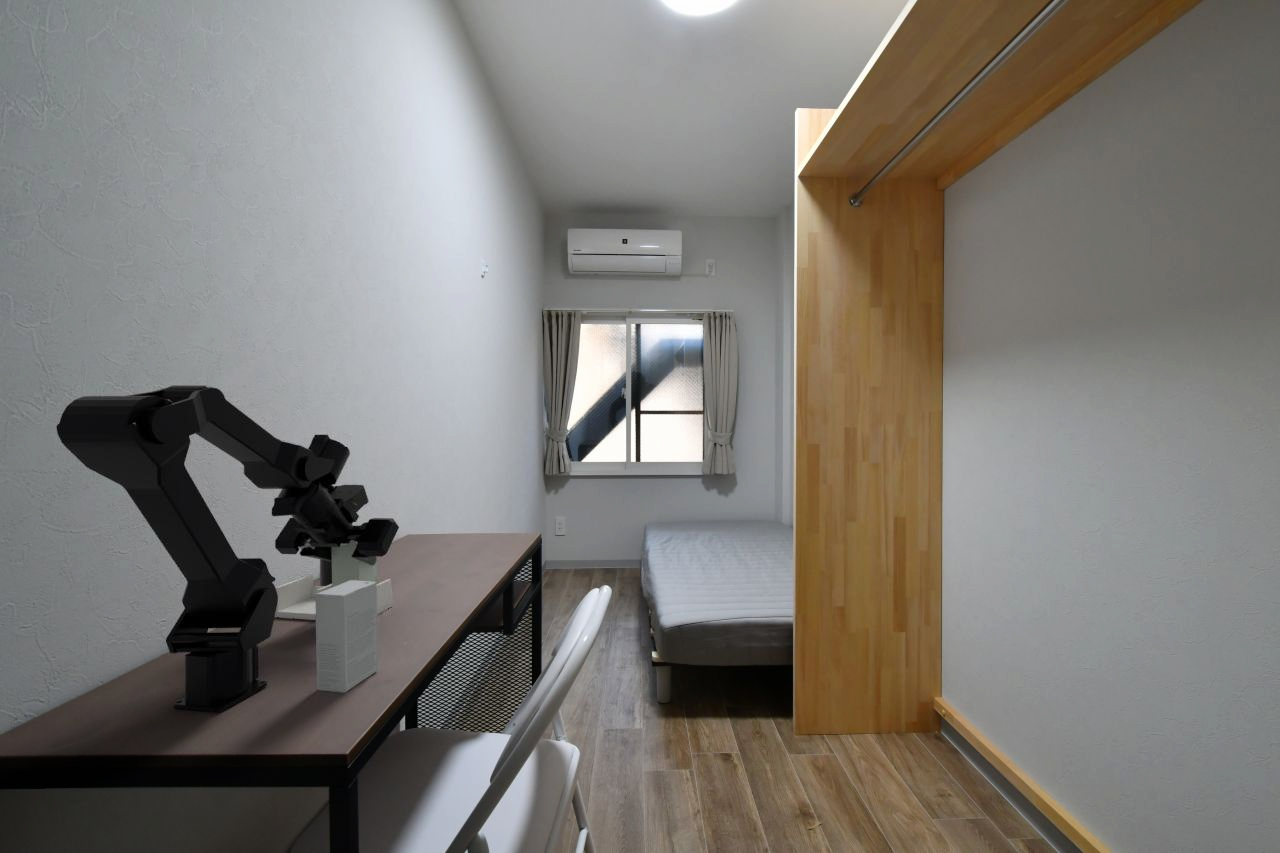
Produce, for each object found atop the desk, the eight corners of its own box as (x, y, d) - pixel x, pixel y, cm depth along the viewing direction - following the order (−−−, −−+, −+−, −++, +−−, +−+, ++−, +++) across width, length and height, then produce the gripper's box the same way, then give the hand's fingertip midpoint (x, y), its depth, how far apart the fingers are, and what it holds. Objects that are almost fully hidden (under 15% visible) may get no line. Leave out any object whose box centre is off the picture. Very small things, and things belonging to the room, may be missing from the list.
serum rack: (361, 622, 86) (361, 592, 86) (274, 617, 89) (274, 587, 89) (392, 606, 94) (392, 578, 94) (310, 601, 97) (310, 574, 97)
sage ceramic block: (359, 607, 88) (358, 530, 88) (332, 607, 89) (331, 530, 89) (378, 598, 93) (376, 525, 93) (352, 598, 94) (350, 525, 94)
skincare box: (350, 668, 70) (350, 579, 70) (378, 671, 69) (378, 581, 69) (313, 690, 64) (313, 593, 64) (343, 694, 63) (343, 595, 63)
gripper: (392, 470, 86) (426, 525, 97) (288, 469, 88) (333, 523, 99) (362, 527, 78) (403, 579, 89) (248, 525, 80) (302, 576, 91)
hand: (360, 562), depth 92 cm, fingers closed on sage ceramic block, 5 cm apart
